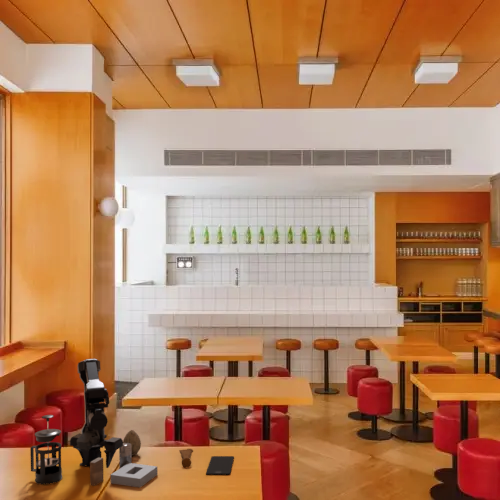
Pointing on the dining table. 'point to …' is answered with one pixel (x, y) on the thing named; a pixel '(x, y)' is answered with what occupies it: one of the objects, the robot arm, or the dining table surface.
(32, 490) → the dining table surface
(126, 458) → the round metal peg
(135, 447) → the decorative egg
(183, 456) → the primitive tool
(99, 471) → the walnut bar
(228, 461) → the cell phone
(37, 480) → the french press
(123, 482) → the slotted block
